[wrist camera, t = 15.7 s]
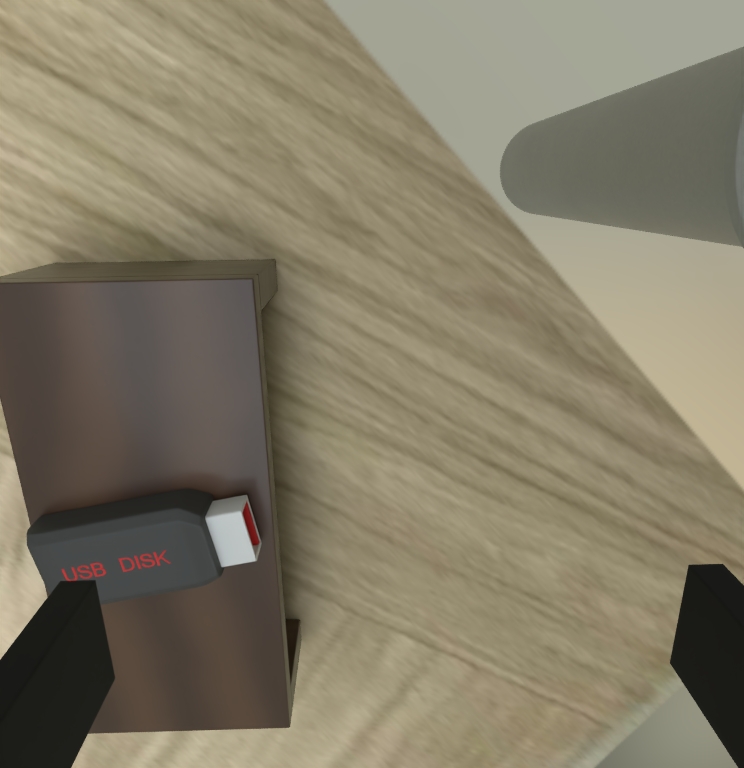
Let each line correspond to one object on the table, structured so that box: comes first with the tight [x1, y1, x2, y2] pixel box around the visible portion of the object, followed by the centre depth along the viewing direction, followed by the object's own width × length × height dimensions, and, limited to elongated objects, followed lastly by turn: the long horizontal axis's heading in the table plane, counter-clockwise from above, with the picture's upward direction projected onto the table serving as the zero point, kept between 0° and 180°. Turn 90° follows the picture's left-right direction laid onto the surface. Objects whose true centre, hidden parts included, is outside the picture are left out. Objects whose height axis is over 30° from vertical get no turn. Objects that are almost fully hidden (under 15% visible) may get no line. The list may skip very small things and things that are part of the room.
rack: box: [0, 259, 301, 734], centre depth 38 cm, size 14×30×8 cm, turn 1°
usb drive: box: [27, 488, 262, 605], centre depth 32 cm, size 5×12×3 cm, turn 101°
